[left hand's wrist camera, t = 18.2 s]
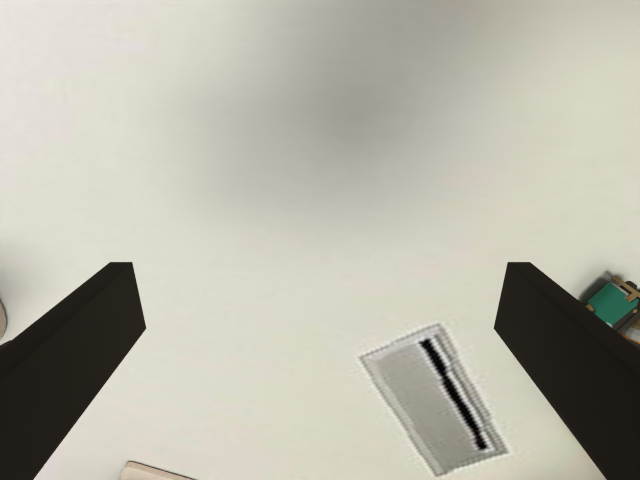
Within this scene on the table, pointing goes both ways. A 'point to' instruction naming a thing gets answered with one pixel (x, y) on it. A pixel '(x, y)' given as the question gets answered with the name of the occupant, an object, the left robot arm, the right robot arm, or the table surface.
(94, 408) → the table surface
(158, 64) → the table surface
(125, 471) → the tablet stand
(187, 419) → the table surface
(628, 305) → the spray gun
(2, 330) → the bust sculpture
